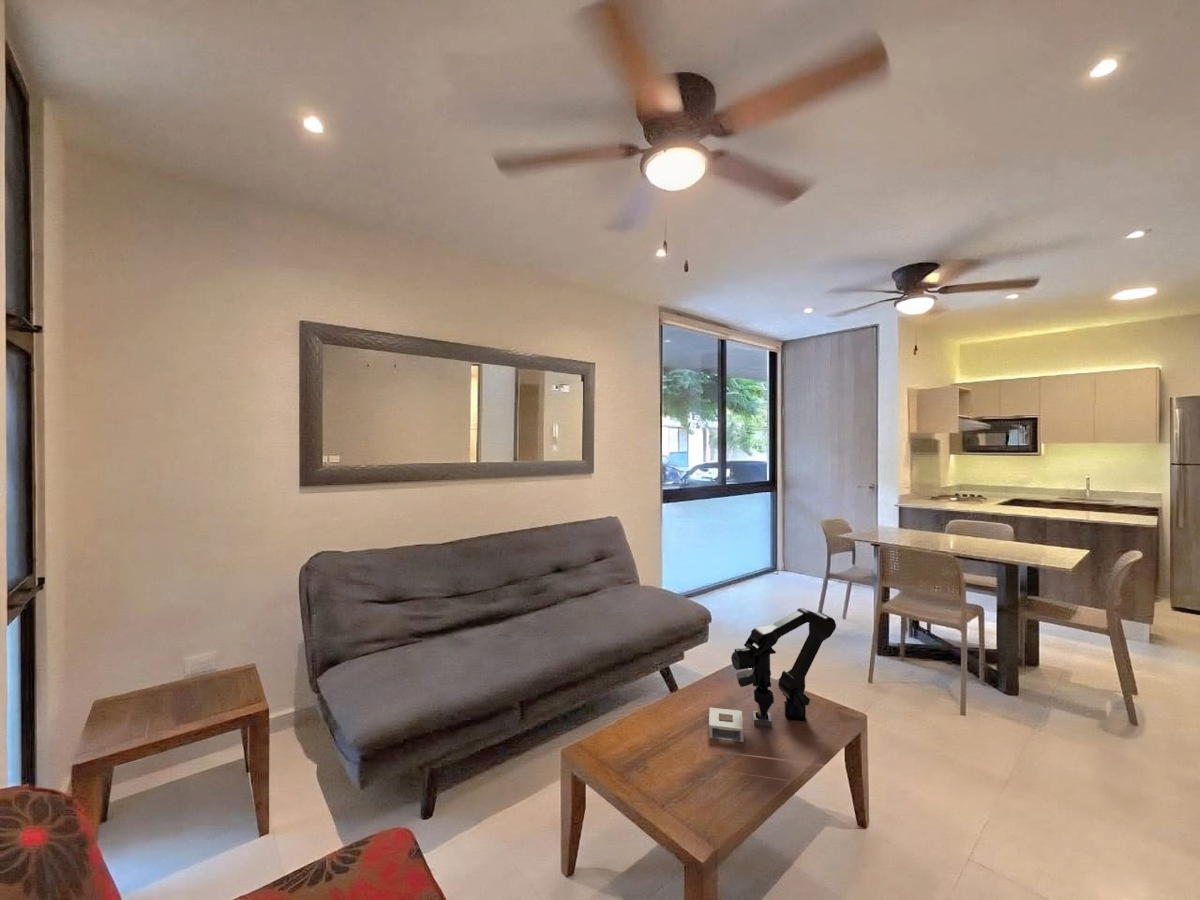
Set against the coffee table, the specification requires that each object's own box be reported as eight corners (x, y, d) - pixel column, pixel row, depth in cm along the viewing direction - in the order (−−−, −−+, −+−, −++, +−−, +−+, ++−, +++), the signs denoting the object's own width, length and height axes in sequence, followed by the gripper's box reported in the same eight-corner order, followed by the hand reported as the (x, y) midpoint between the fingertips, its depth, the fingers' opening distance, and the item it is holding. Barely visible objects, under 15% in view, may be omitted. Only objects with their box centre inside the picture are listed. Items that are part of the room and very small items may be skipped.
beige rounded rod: (765, 719, 176) (765, 698, 175) (766, 723, 173) (766, 702, 173) (757, 718, 176) (757, 697, 176) (758, 722, 174) (757, 701, 173)
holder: (770, 718, 177) (770, 712, 177) (771, 727, 171) (771, 721, 171) (752, 716, 178) (752, 710, 178) (753, 725, 172) (753, 719, 172)
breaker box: (741, 724, 173) (741, 710, 173) (743, 743, 163) (743, 729, 162) (709, 720, 176) (709, 707, 176) (709, 739, 165) (709, 725, 165)
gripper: (736, 652, 185) (737, 693, 185) (739, 676, 167) (739, 721, 167) (768, 655, 182) (768, 697, 183) (773, 679, 164) (774, 725, 165)
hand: (761, 709), depth 174 cm, fingers open, 9 cm apart
